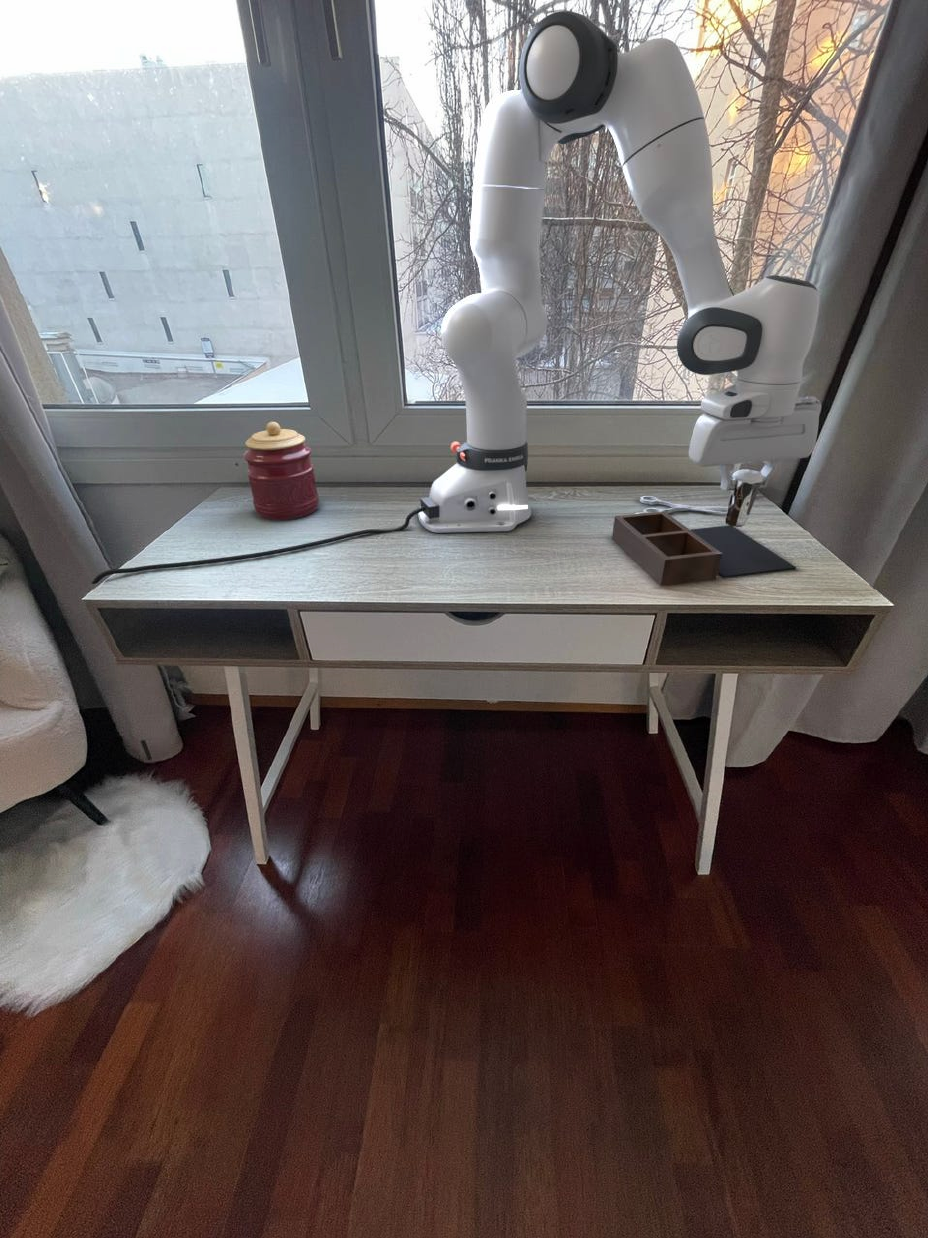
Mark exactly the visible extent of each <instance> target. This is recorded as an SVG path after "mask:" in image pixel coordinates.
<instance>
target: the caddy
mask: <svg viewBox="0 0 928 1238" xmlns="http://www.w3.org/2000/svg"><path fill="white" fill-rule="evenodd" d="M612 526H613V527H612V535H611V541H612V542H613V543H615V544H616V546H617V547H619V549H621V550H622V552H624V553H625V554H626V555H627V556H628V557H629V558H630V559H631V560H633V561H634V563H636V565H638V566H639V567H640V568H641V569H642V570H643V571H644V572H645V573H646V574H647V575H648V576H649V577H650V578H651V579H652V580H653V581H654V582H656V583H657V584H658V586H660V587H665V586H673V585H681V584H687V583H688V584H689V583H698V582H706V581H713V580H714V581H715V580H717V578H718V571H719V566H720V562H721V558H722V553H721V552H720V551H718V550H717V549H716V548H714V547H713V546H711V545H710V544H709V543H707V542H706V541H705V540H703V539H702V538H700V537H699V536H698V535H696V534H695V533H694V532H692V531H691V529H690V528H688V527H687V526H686V525H684V524H683V523H681V521H679V520H677V519H676V518H674V517H673V516H672V515H671V514H670V513H666V512H665V511H663V512H650V513H643V514H635V513H634V514H624V515H615V516H614V518H613V525H612Z"/></svg>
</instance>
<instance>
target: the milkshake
mask: <svg viewBox="0 0 928 1238" xmlns="http://www.w3.org/2000/svg"><path fill="white" fill-rule="evenodd" d="M750 465H751V463H746V465H745V469H738V470H736V471H735V472H733V473H732V474H731V478H733V479H735V480H737V481H736V484H735V489H734V490H729V497H728V502H727V507H726V508H727V509H726V512H727V513H726V514H725V518H724V522H725V524H726V525H727V526H729V525H730V526H733V527H735V528H742V527H745V526H746V525H747V522H748V519H749V517H750V513H751V511H752V508H753V505H754V503H755V500H756V498H757V496H758V492H759V489H760V488H761V487H760V485H761V482H762V480H763V476H762V474H761V472H760V471H759V470H755V469H750Z"/></svg>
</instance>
